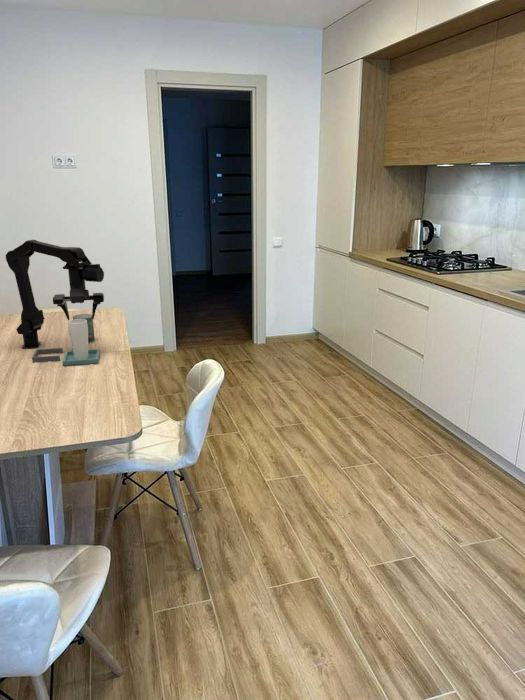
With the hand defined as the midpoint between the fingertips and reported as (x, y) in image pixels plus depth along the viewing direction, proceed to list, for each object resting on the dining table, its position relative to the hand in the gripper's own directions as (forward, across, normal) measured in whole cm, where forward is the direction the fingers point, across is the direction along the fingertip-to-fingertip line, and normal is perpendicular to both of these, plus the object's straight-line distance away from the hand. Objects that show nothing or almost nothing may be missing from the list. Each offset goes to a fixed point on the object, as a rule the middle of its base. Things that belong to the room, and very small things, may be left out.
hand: (81, 319), depth 206 cm
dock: (+13, -12, -6) cm, 19 cm away
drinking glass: (+13, 0, -12) cm, 17 cm away
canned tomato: (+13, 0, +14) cm, 19 cm away
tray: (+13, 0, -12) cm, 18 cm away
